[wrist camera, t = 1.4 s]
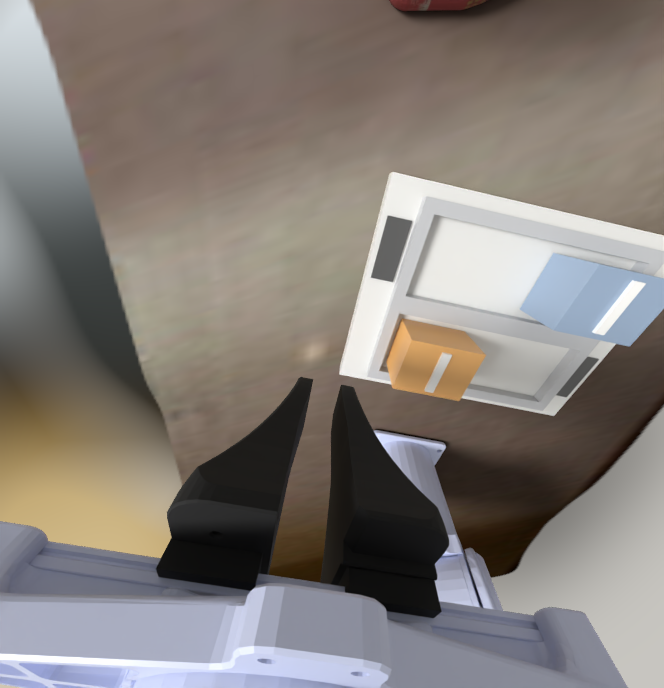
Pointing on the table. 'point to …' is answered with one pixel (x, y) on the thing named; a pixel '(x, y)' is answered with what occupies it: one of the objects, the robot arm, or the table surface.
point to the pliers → (434, 4)
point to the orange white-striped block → (433, 360)
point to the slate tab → (594, 300)
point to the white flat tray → (483, 286)
